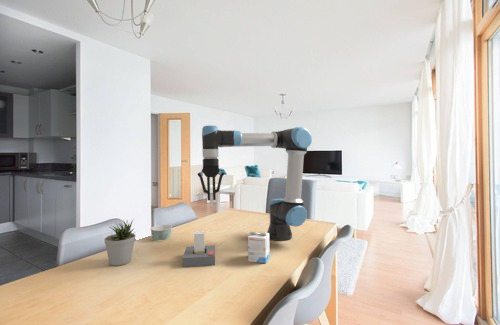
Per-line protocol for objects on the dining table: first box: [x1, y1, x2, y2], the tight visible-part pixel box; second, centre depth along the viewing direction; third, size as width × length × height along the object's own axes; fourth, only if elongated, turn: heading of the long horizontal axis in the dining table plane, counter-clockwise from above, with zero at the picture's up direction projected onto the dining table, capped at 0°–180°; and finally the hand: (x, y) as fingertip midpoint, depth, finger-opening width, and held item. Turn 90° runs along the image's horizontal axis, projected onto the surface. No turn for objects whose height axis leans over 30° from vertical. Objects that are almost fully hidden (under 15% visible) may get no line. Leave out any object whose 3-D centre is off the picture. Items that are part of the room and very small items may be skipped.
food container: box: [150, 224, 173, 241], centre depth 147 cm, size 12×12×6 cm
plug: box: [193, 230, 206, 254], centre depth 116 cm, size 4×4×12 cm
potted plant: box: [104, 219, 137, 267], centre depth 113 cm, size 13×14×20 cm
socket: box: [182, 244, 216, 268], centre depth 116 cm, size 14×14×5 cm
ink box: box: [247, 231, 271, 264], centre depth 117 cm, size 9×8×13 cm
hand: (211, 206), depth 120 cm, fingers closed
